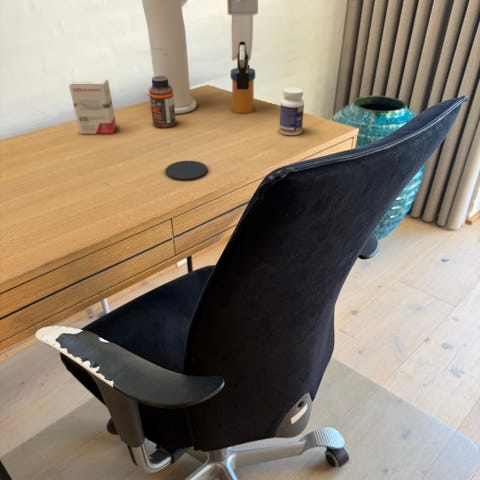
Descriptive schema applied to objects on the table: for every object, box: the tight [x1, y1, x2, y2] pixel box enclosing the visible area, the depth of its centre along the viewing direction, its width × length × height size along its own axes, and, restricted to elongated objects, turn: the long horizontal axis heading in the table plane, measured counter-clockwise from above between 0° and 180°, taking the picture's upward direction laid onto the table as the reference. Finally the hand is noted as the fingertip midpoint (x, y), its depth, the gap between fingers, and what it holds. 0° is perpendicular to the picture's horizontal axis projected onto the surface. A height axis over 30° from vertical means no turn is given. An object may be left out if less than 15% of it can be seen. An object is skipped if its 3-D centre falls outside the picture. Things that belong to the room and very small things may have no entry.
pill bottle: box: [279, 87, 305, 136], centre depth 117 cm, size 6×6×10 cm
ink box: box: [68, 78, 117, 135], centre depth 118 cm, size 8×5×12 cm, turn 89°
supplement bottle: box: [148, 76, 176, 129], centre depth 121 cm, size 6×6×11 cm
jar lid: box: [230, 67, 256, 81], centre depth 126 cm, size 6×6×2 cm
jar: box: [231, 79, 255, 114], centre depth 129 cm, size 6×6×10 cm
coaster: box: [165, 160, 208, 182], centre depth 103 cm, size 9×9×1 cm
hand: (243, 84), depth 128 cm, fingers closed on jar lid, 6 cm apart
